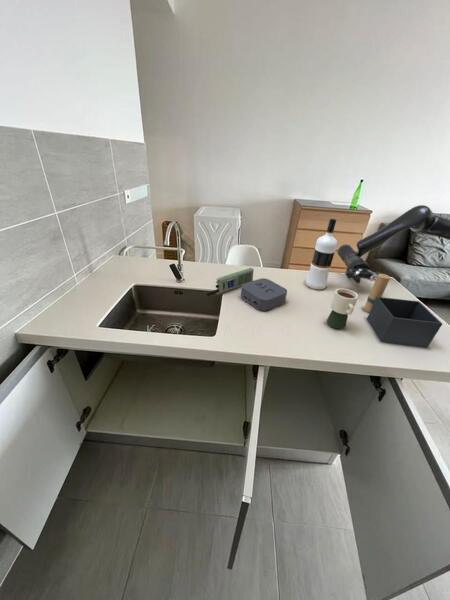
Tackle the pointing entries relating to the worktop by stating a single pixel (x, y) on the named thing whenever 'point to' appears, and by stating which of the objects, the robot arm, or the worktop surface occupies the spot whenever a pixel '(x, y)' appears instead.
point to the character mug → (342, 307)
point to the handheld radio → (232, 281)
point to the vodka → (322, 259)
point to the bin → (403, 322)
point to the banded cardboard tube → (377, 290)
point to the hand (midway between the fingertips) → (370, 282)
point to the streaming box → (263, 294)
